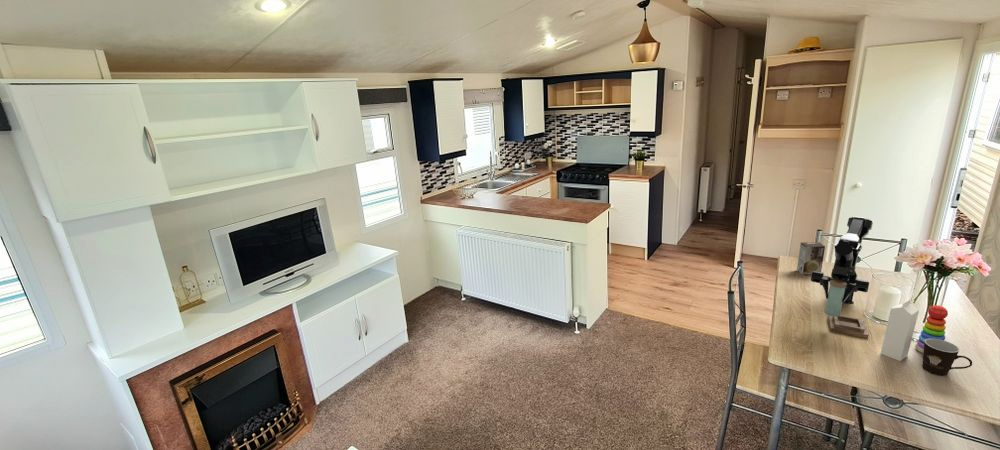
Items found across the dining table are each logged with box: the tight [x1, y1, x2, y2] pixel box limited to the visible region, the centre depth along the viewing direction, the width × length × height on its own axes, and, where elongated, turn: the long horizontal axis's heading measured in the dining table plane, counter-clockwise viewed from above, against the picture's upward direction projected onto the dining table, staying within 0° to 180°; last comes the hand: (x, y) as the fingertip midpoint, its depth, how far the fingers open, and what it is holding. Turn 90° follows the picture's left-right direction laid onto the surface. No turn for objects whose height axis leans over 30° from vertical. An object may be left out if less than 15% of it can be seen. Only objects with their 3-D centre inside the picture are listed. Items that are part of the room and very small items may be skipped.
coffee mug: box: [921, 338, 973, 377], centre depth 150 cm, size 12×9×10 cm
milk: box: [880, 299, 920, 362], centre depth 159 cm, size 6×6×22 cm
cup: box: [824, 280, 847, 317], centre depth 178 cm, size 5×5×14 cm
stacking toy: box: [914, 304, 949, 354], centre depth 161 cm, size 8×8×19 cm
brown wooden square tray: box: [827, 314, 869, 339], centre depth 181 cm, size 12×12×3 cm
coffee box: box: [796, 241, 826, 275], centre depth 232 cm, size 9×6×16 cm
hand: (834, 300), depth 177 cm, fingers closed on cup, 5 cm apart
